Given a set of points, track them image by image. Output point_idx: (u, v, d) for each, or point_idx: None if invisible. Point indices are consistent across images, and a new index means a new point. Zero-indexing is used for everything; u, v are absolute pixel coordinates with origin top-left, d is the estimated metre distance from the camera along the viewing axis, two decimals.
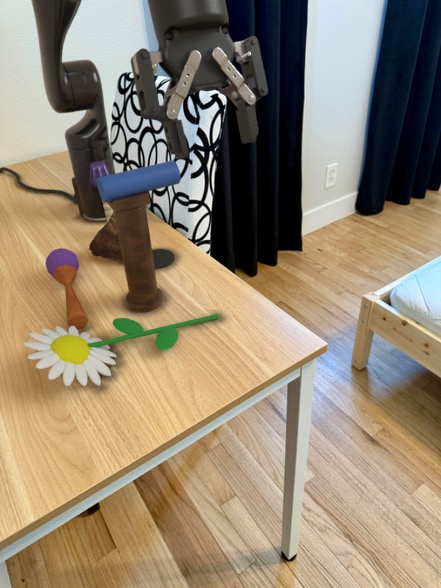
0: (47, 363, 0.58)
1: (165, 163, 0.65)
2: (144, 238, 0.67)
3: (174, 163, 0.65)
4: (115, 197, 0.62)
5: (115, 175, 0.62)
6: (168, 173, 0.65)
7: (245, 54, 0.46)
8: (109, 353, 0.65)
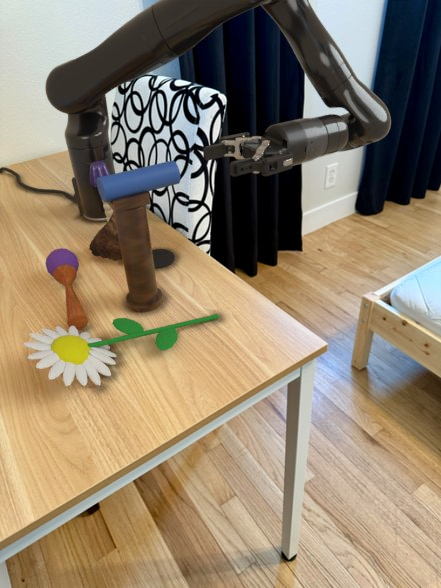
0: (47, 363, 0.58)
1: (165, 163, 0.65)
2: (144, 238, 0.67)
3: (174, 163, 0.65)
4: (115, 197, 0.62)
5: (115, 175, 0.62)
6: (168, 173, 0.65)
7: None
8: (109, 353, 0.65)
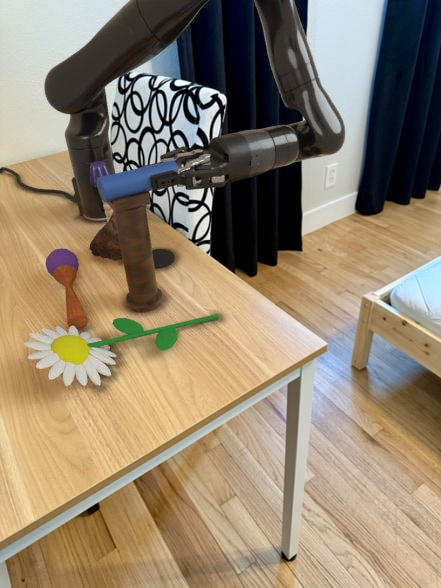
0: (47, 363, 0.58)
1: (165, 163, 0.65)
2: (144, 238, 0.67)
3: (174, 163, 0.65)
4: (115, 197, 0.62)
5: (115, 175, 0.62)
6: None
7: None
8: (109, 353, 0.65)
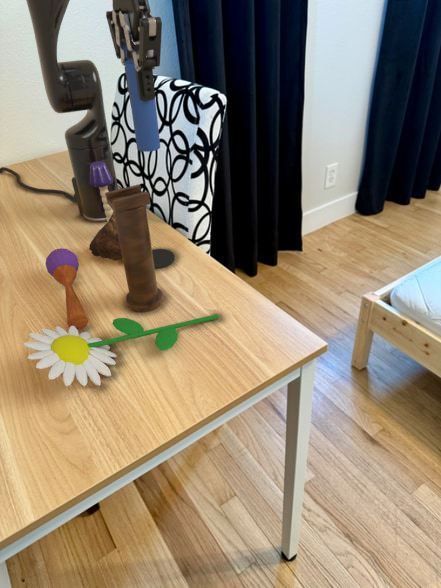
0: (47, 363, 0.58)
1: (127, 75, 0.59)
2: (144, 238, 0.67)
3: (128, 65, 0.58)
4: (157, 139, 0.65)
5: (136, 134, 0.64)
6: None
7: None
8: (109, 353, 0.65)
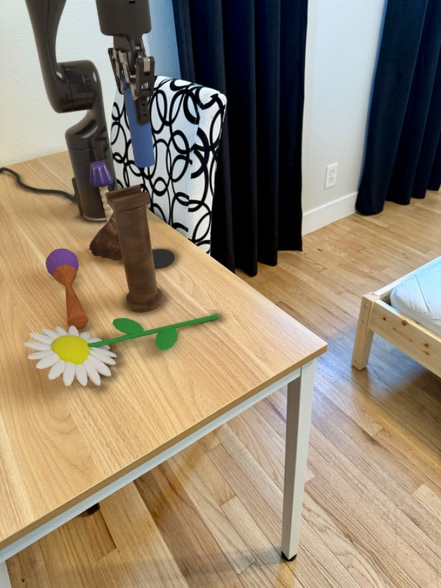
0: (47, 363, 0.58)
1: (126, 102, 0.69)
2: (144, 238, 0.67)
3: (127, 94, 0.68)
4: (152, 156, 0.74)
5: (134, 152, 0.74)
6: None
7: None
8: (109, 353, 0.65)
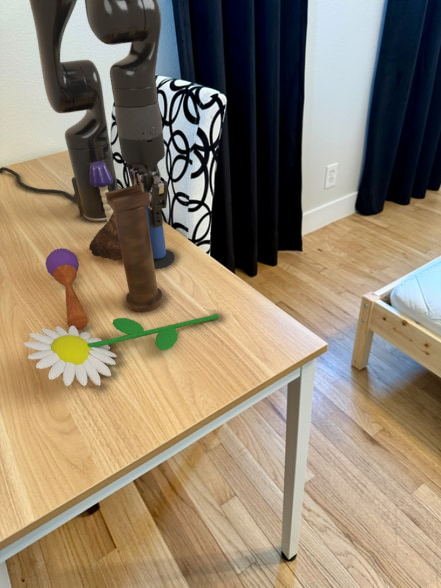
0: (47, 363, 0.58)
1: None
2: (144, 238, 0.67)
3: None
4: (163, 249, 0.86)
5: None
6: None
7: None
8: (109, 353, 0.65)
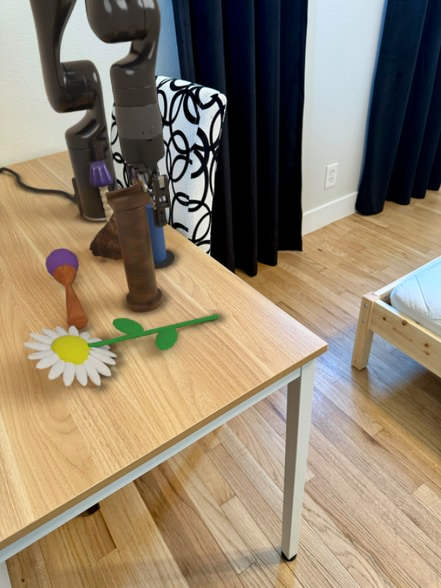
0: (47, 363, 0.58)
1: None
2: (144, 238, 0.67)
3: None
4: (164, 253, 0.86)
5: None
6: (151, 216, 0.80)
7: None
8: (109, 353, 0.65)
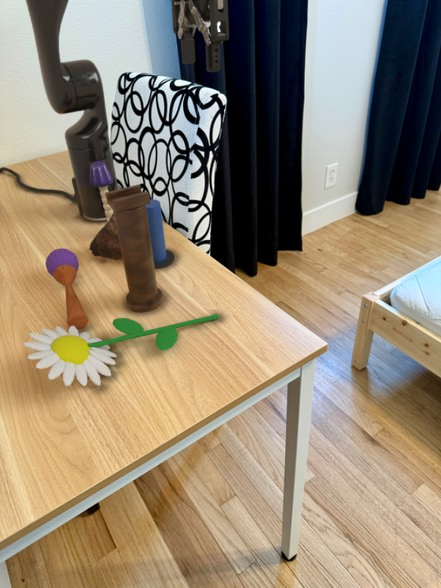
0: (47, 363, 0.58)
1: None
2: (144, 238, 0.67)
3: None
4: (164, 253, 0.86)
5: None
6: (151, 216, 0.80)
7: None
8: (109, 353, 0.65)
